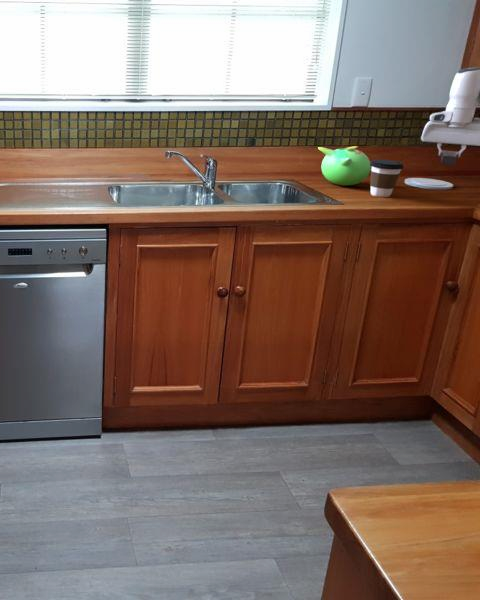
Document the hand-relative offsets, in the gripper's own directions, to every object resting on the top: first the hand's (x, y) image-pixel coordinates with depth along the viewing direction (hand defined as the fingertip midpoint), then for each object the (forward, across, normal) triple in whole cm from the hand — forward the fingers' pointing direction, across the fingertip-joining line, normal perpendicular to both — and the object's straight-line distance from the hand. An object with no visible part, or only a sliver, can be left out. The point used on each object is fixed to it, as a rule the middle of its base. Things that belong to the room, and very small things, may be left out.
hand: (448, 156), depth 218 cm
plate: (+14, +4, -17) cm, 22 cm away
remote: (+2, 0, 0) cm, 2 cm away
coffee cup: (+14, +19, +15) cm, 28 cm away
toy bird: (+14, +34, +5) cm, 37 cm away
